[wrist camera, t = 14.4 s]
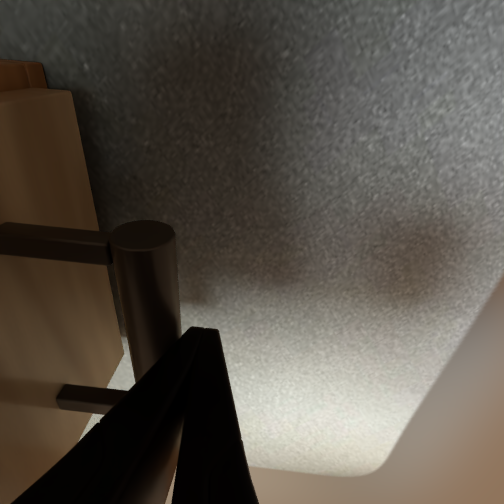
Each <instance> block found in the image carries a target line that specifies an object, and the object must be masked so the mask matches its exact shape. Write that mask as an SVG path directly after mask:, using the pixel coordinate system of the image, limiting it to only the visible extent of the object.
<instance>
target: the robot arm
mask: <svg viewBox="0 0 504 504" xmlns="http://www.w3.org/2000/svg"><path fill="white" fill-rule="evenodd" d="M176 467H177V469H176ZM175 470H176V476H175V482H174V489H173V496H172V503H171V504H259V502H258V499H257V496H256V493H255V490H254V486H253V483H252V480H251V476H250V472H249V468H248V464H247V459H246V455H245V451H244V446H243V441H242V440H241V433H240V428H239V423H238V418H237V414H236V409H235V404H234V400H233V395H232V390H231V386H230V381H229V376H228V371H227V367H226V362H225V357H224V353H223V348H222V343H221V339H220V334H219V330H218V329H212V328H203V327H194V326H192V327H190V328H189V329H188V330H187V331H186V332H185V333H184V334H183V335H182V336H181V337H180V338H179V339H178V340H177V341H176V342H175V343H174V344H173V345H172V346H171V347H170V348H169V349H168V350H167V351H166V352H165V353H164V355H163V356H162V357H161V358H160V359H159V360H158V361H157V362H156V363H155V364H154V365H153V366H152V367H151V368H150V369H149V370H148V371H147V372H146V373H145V374H144V375H143V376H142V377H141V378H140V379H139V380H138V381H137V382H136V383H135V384H134V385H133V386H132V388H131V389H130V390H129V391H128V392H127V393H126V394H125V395H124V396H123V397H122V398H121V399H120V400H119V401H118V402H117V403H116V404H115V405H114V406H113V407H112V408H111V409H110V410H109V411H108V412H107V413H106V414H105V415H104V416H103V417H102V418H101V419H100V423H96V424H95V425H94V426H93V428H92V429H91V430H90V431H89V432H88V433H87V434H86V435H85V436H84V437H83V438H82V439H81V440H80V441H79V442H78V443H77V444H76V445H75V446H74V447H73V448H72V449H71V450H70V451H69V452H68V453H67V454H66V455H65V456H63V457H62V458H61V459H60V460H59V461H58V462H57V463H56V464H55V465H53V466H52V467H51V468H50V469H49V470H48V471H47V472H46V473H45V474H44V475H42V476H41V477H40V478H39V479H38V480H37V481H36V482H34V483H33V484H32V485H31V486H30V487H29V488H28V489H26V490H25V491H24V492H23V493H22V494H21V495H20V496H18V497H17V498H16V499H15V500H14V501H13V502H11V503H10V504H165V502H166V498H167V495H168V492H169V489H170V486H171V482H172V479H173V476H174V473H175Z"/></svg>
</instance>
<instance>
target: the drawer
mask: <svg viewBox="0 0 504 504" xmlns="http://www.w3.org/2000/svg"><path fill="white" fill-rule="evenodd" d="M112 264H113V266H114V271H115V276H116V282H117V287H118V292H119V298H120V303H121V308H122V313H123V319H124V324H125V329H126V335H127V340H128V345H129V351H130V356H131V361H132V367H133V372H134V377H135V383H136V382H137V381H138V380H139V379H140V378H141V377H142V376H143V375H144V374H145V373H146V372H147V371H148V370H149V369H150V368H151V367H152V366H153V365H154V364H155V363H156V362H157V361H158V360H159V359H160V358H161V357H162V356H163V355H164V353H165V352H166V351H167V350H168V349H169V348H170V347H171V346H172V345H173V344H174V343H175V342H176V341H177V340H178V339H179V338H180V337H181V336H182V332H181V316H180V300H179V284H178V268H177V252H176V235H175V231H174V229H173V228H172V227H171V226H170V225H168V224H166V223H164V222H160V221H154V220H139V221H133V222H128V223H125V224H122V225H120V226H118V227H117V228H115V229H114V230H113V231H112V232H103V231H99V226H98V222H97V217H96V212H95V207H94V202H93V197H92V192H91V187H90V182H89V177H88V172H87V167H86V162H85V157H84V152H83V147H82V142H81V137H80V132H79V127H78V122H77V118H76V113H75V108H74V103H73V98H72V93H71V92H70V91H67V90H56V89H45V88H34V87H33V88H26V89H19V90H11V91H4V92H0V504H10V503H11V502H13V501H14V500H15V499H16V498H17V497H18V496H20V495H21V494H22V493H23V492H24V491H25V490H26V489H28V488H29V487H30V486H31V485H32V484H33V483H34V482H36V481H37V480H38V479H39V478H40V477H41V476H42V475H44V474H45V473H46V472H47V471H48V470H49V469H50V468H51V467H52V466H53V465H55V464H56V463H57V462H58V461H59V460H60V459H61V458H62V457H63V456H65V455H66V454H67V453H68V452H69V451H70V450H71V449H72V448H73V447H74V446H75V445H76V444H77V443H78V441H79V439H80V437H81V435H82V433H83V431H84V429H85V427H86V426H87V424H88V422H89V420H90V418H91V416H92V414H93V413H94V414H102V415H105V414H106V413H107V412H108V411H109V410H110V409H111V408H112V407H113V406H114V405H115V404H116V403H117V402H118V401H119V400H120V399H121V398H122V397H123V396H124V395H125V394H126V393H127V392H128V391H125V390H116V389H108V388H107V386H108V384H109V382H110V380H111V378H112V376H113V374H114V372H115V370H116V368H117V367H118V365H119V363H120V361H121V359H122V357H123V355H124V350H123V345H122V340H121V335H120V330H119V325H118V321H117V316H116V311H115V306H114V301H113V296H112V291H111V286H110V281H109V276H108V271H107V266H110V265H112Z"/></svg>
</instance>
